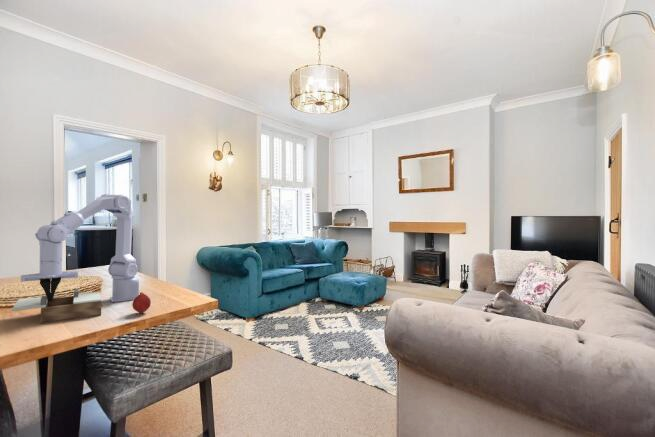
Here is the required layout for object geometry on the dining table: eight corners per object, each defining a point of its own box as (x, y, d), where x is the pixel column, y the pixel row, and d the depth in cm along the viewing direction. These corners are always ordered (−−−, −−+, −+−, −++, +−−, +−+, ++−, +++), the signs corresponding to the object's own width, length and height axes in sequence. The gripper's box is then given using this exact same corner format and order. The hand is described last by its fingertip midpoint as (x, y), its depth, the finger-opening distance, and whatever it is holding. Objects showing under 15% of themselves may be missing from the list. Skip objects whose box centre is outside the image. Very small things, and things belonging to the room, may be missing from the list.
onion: (137, 310, 119) (137, 289, 119) (153, 311, 120) (153, 290, 120) (129, 316, 114) (129, 293, 113) (145, 316, 114) (146, 294, 114)
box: (99, 305, 123) (99, 293, 123) (100, 315, 113) (101, 301, 113) (44, 312, 114) (45, 298, 114) (40, 323, 103) (41, 308, 103)
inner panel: (99, 292, 123) (100, 286, 123) (101, 300, 113) (101, 293, 113) (74, 295, 119) (74, 288, 118) (73, 304, 108) (73, 296, 108)
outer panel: (48, 297, 114) (48, 290, 114) (45, 307, 104) (45, 299, 104) (18, 300, 109) (18, 293, 109) (11, 311, 99) (11, 303, 99)
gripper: (19, 263, 99) (18, 306, 100) (78, 260, 108) (77, 300, 108) (22, 260, 105) (22, 301, 105) (78, 258, 114) (77, 295, 114)
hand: (50, 300), depth 107 cm, fingers closed
